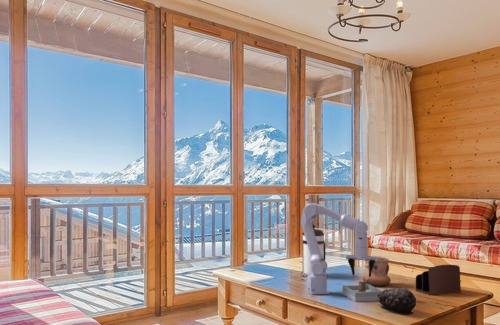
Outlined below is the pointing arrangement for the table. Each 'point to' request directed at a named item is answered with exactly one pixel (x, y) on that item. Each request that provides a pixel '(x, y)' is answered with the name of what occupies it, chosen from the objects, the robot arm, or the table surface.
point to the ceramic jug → (378, 272)
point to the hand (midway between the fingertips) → (361, 275)
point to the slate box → (361, 293)
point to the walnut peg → (362, 286)
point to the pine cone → (397, 300)
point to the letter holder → (439, 280)
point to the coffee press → (306, 252)
